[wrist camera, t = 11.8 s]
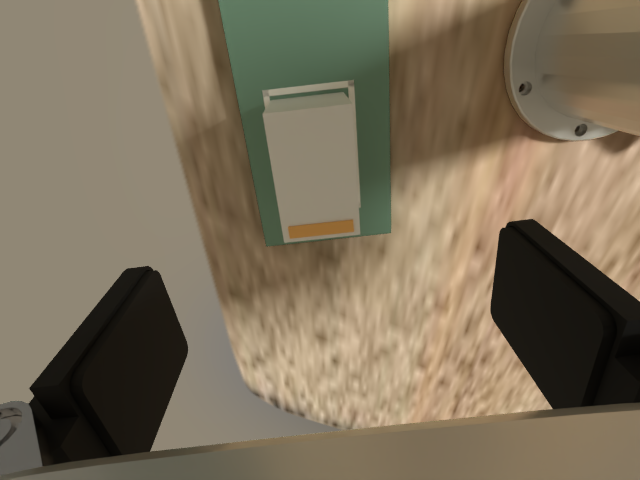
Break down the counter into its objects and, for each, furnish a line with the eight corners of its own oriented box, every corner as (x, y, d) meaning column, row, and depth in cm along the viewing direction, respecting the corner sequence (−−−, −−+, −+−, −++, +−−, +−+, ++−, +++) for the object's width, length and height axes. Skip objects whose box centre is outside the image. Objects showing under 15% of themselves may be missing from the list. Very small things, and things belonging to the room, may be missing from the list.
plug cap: (270, 100, 24) (262, 114, 19) (343, 91, 24) (353, 103, 19) (287, 208, 28) (284, 243, 23) (350, 201, 28) (360, 235, 23)
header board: (190, -165, 19) (183, -178, 18) (381, -189, 19) (385, -203, 18) (267, 239, 30) (266, 246, 29) (388, 226, 30) (391, 233, 29)
